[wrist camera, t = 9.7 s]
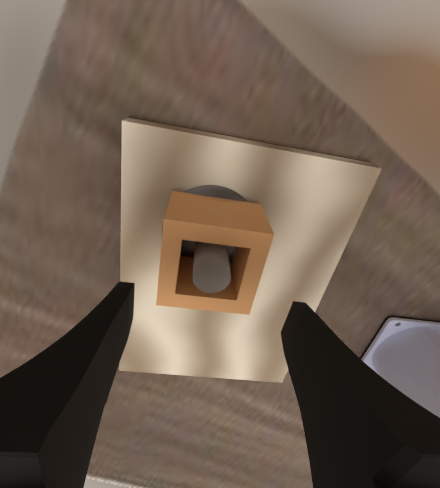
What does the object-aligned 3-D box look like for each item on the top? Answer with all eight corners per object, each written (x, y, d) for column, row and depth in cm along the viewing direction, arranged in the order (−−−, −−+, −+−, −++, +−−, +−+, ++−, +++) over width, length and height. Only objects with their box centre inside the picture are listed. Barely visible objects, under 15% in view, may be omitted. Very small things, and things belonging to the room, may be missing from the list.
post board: (370, 162, 19) (445, 201, 13) (278, 369, 30) (297, 442, 24) (128, 117, 17) (85, 138, 11) (123, 356, 28) (100, 433, 22)
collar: (261, 204, 18) (274, 234, 14) (242, 275, 21) (249, 314, 17) (172, 190, 17) (163, 218, 14) (164, 266, 20) (156, 305, 17)
